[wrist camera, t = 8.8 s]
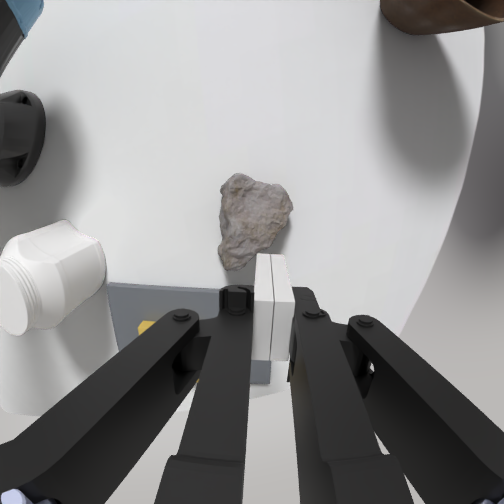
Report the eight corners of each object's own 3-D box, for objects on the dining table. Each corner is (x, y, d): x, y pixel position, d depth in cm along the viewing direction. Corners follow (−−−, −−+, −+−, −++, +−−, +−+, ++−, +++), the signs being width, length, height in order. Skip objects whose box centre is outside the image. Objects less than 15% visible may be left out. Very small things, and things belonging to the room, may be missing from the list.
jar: (114, 249, 35) (43, 294, 20) (96, 305, 37) (37, 362, 23) (53, 211, 34) (-24, 235, 19) (41, 267, 36) (-25, 305, 22)
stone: (270, 269, 35) (272, 287, 29) (205, 249, 35) (194, 264, 29) (296, 189, 32) (303, 193, 27) (228, 169, 32) (220, 168, 26)
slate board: (126, 365, 40) (123, 369, 39) (110, 282, 36) (106, 285, 35) (269, 378, 39) (269, 383, 38) (275, 290, 36) (275, 294, 34)
